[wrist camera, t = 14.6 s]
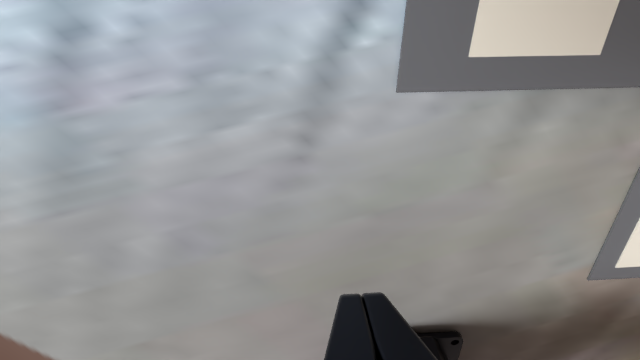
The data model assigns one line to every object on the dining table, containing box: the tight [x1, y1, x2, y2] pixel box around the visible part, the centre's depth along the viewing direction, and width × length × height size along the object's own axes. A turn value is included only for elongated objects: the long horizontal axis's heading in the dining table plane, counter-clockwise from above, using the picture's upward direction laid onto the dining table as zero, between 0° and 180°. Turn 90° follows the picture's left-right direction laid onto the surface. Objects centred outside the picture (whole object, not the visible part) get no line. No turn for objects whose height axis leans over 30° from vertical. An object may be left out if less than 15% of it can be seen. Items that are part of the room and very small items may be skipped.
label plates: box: [396, 0, 640, 280], centre depth 21 cm, size 24×20×1 cm
